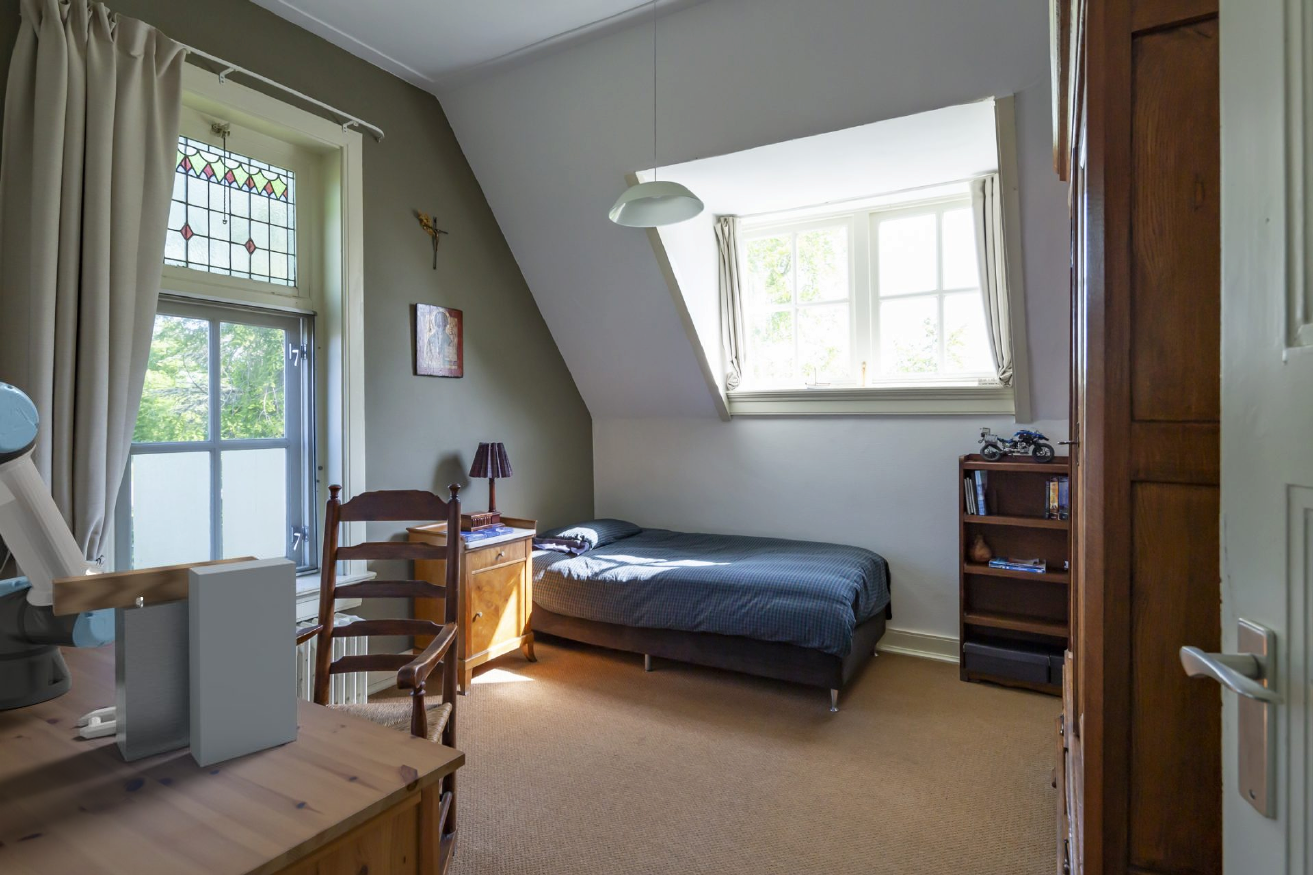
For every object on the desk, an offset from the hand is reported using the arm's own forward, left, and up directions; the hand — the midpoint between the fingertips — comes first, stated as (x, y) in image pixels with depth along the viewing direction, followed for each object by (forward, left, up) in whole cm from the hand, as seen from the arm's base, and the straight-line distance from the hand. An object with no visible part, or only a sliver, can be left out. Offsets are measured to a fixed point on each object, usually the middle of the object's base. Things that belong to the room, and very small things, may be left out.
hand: (7, 486), depth 107 cm
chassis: (+2, +21, -44) cm, 49 cm away
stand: (+13, +28, -44) cm, 54 cm away
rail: (+2, +19, -20) cm, 27 cm away
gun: (-10, +17, -44) cm, 49 cm away
